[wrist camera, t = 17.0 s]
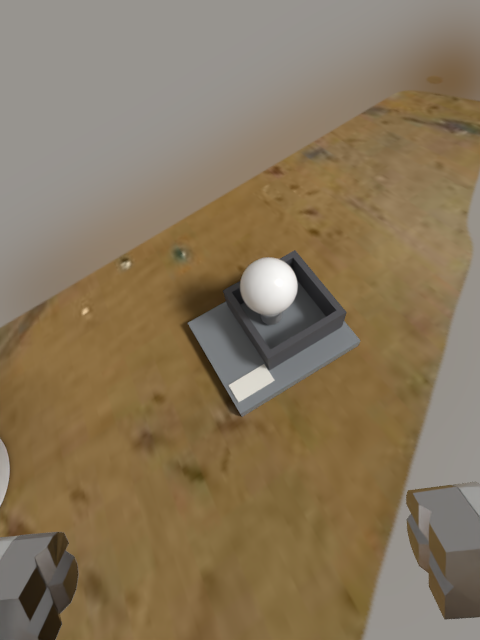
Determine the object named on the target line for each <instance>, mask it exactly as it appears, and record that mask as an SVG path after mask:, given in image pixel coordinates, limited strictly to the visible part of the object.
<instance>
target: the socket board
mask: <svg viewBox="0 0 480 640" xmlns="http://www.w3.org/2000/svg"><path fill="white" fill-rule="evenodd" d="M280 260H282V261H284V262H285V263H287V264H288V265H289V266H290V267H291V268H292V270H293V271H294V273H295V275H296V278H297V283H298V290H297V295H296V297H295V299H294V301H293V303H292V304H291V305H290V306H289V307H288V308H287V309H286V310H285V311H283V312H282V318H281V320H280V321H279V322H278V323H277V324H274V325H268V324H266V323H264V322H263V321H262V319H261V314H259V313H256V312H254V311H253V310H251V309H250V308H249V307H248V306H247V305H246V303H245V302H244V300H243V298H242V296H241V292H240V281H239V282H237V283H236V284H234V285H232V286H230V287H228V288H227V289H225V290H223V293H224V296H225V299H226V302H224V303H222V304H220V305H219V306H217V307H215V308H213V309H211V310H210V311H208V312H206V313H204V314H203V315H201V316H199V317H197V318H196V319H194V320H192V321H190V322H188V324H189V326H190V328H191V330H192V331H193V333H194V335H195V337H196V338H197V340H198V342H199V344H200V345H201V347H202V349H203V350H204V352H205V354H206V356H207V357H208V359H209V361H210V363H211V364H212V366H213V368H214V369H215V371H216V373H217V375H218V376H219V378H220V380H221V382H222V383H223V385H224V387H225V388H226V390H227V392H228V394H229V395H230V397H231V399H232V401H233V402H234V404H235V406H236V407H237V409H238V411H239V413H240V414H241V416H242V417H243V416H244V415H246V414H247V413H249V412H251V411H252V410H254V409H256V408H257V407H259V406H260V405H262V404H264V403H265V402H267V401H269V400H270V399H272V398H274V397H275V396H277V395H278V394H280V393H282V392H283V391H285V390H287V389H288V388H290V387H291V386H293V385H295V384H296V383H298V382H300V381H301V380H303V379H304V378H306V377H308V376H309V375H311V374H313V373H314V372H316V371H318V370H319V369H321V368H322V367H324V366H326V365H327V364H329V363H331V362H332V361H334V360H335V359H337V358H339V357H340V356H342V355H344V354H345V353H347V352H348V351H350V350H352V349H353V348H355V347H357V346H358V345H359V343H360V340H359V338H358V337H357V336H356V335H355V334H354V332H353V331H352V330H351V329H350V327H349V326H348V325H347V324H346V323H345V321H344V319H345V316H346V311H345V310H344V309H343V308H342V306H341V305H340V304H339V303H338V302H337V300H336V299H335V298H334V297H333V295H332V294H331V293H330V292H329V291H328V289H327V288H326V287H325V286H324V285H323V283H322V282H321V281H320V280H319V279H318V277H317V276H316V275H315V274H314V273H313V271H312V270H311V269H310V268H309V267H308V265H307V264H306V263H305V262H304V261H303V259H302V258H301V257H300V256H299V255H298V253H297V252H296V251H293V252H291V253H289V254H287V255H286V256H284V257H282V258H280Z"/></svg>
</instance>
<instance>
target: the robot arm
mask: <svg viewBox="0 0 480 640" xmlns="http://www.w3.org/2000/svg"><path fill="white" fill-rule="evenodd" d="M9 473H10V464H9V457H8V453H7V450H6V447H5V445H4V443H3V442H2V440H1V439H0V506H1V504H2V502H3V499H4V496H5V494H6V490H7V486H8V482H9ZM406 504H407V506H408V508H409V510H410V512H411V515H410V516H409V517H408V518H407V531H408V536H409V540H410V544H411V547H412V550H413V553H414V555H415V558H416V560H417V562H418V564H419V566H420V567H421V568H423V569H424V570H425V571H427V572H428V573H429V588H430V590H431V592H432V594H433V596H434V598H435V600H436V602H437V604H438V606H439V608H440V611H441V613H442V615H443V617H444V619H460V618H475V617H480V484H479V483H477V482H470V483H462V484H454V485H447V486H439V487H431V488H424V489H415V490H408V492H407V495H406ZM68 544H69V542H68V540H67V538H66V536H65V534H64V533H63V532H52V533H40V534H29V535H20V536H11V537H0V640H55V639H56V637H57V635H58V632H59V630H60V628H61V625H62V621H61V617H60V613H61V612H62V611H63V610H64V609H65V608H66V607H67V606H68V605H69V604H70V603H71V601H72V599H73V596H74V594H75V591H76V588H77V581H78V565H77V562H76V560H75V557H74V556H73V555H71V554H70V553H68V552H67V551H66V548H67V546H68Z"/></svg>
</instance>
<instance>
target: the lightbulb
mask: <svg viewBox="0 0 480 640" xmlns="http://www.w3.org/2000/svg"><path fill="white" fill-rule="evenodd" d="M297 290H298V283H297V278H296V275H295V273H294V271H293V270H292V268H291V267H290V266H289V265H288V264H287V263H285V262H284V261H282V260H280V259H277V258H271V257H267V258H261V259H258V260H256V261H254V262H253V263H251V264H250V265H249V266H248V267H247V268H246V269H245V271H244V273H243V275H242V277H241V281H240V292H241V296H242V298H243V300H244V302H245V303H246V305H247V306H248V307H249V308H250V309H251V310H253V311H254V312H256V313H259V314H261V319H262V321H263V322H264V323H266V324H268V325H274V324H277V323H278V322H279V321H280V320H281V318H282V312H283V311H285V310H286V309H287V308H288V307H289V306H290V305H291V304H292V303H293V301H294V299H295V297H296V295H297Z"/></svg>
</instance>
